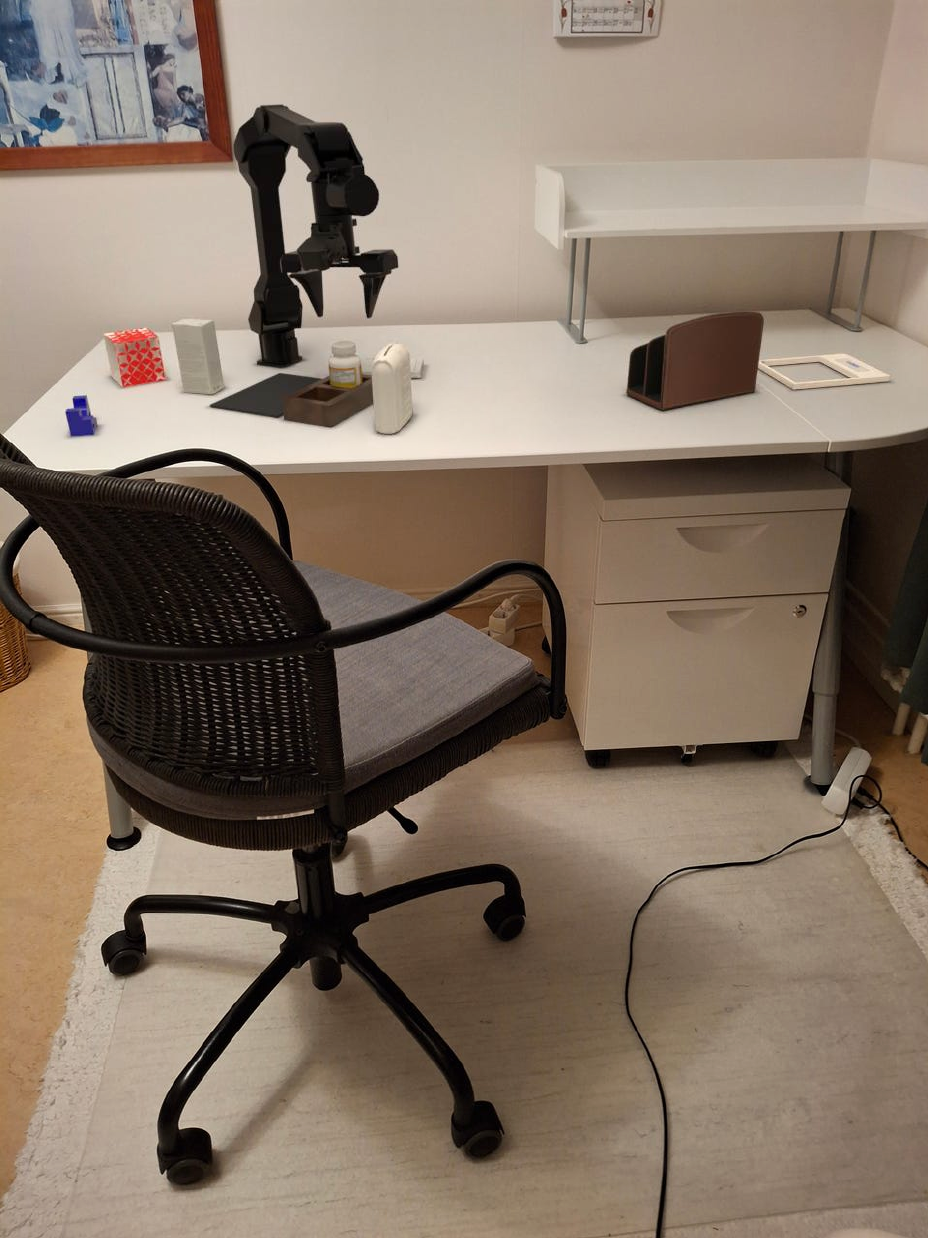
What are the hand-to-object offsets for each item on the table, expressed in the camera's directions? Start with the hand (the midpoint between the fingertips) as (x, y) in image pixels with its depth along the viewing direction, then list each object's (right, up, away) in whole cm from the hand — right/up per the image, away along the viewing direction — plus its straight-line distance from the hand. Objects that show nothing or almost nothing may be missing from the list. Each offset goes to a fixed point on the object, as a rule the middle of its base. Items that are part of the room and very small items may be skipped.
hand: (344, 317), depth 157 cm
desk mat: (-13, -10, +10) cm, 19 cm away
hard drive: (+6, -4, +21) cm, 22 cm away
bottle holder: (-2, -14, +4) cm, 15 cm away
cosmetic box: (-27, -9, +14) cm, 31 cm away
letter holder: (+58, -11, +7) cm, 59 cm away
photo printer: (+8, -18, -3) cm, 20 cm away
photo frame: (+83, -6, +15) cm, 84 cm away
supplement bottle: (0, -12, +7) cm, 14 cm away
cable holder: (-41, -19, -2) cm, 45 cm away
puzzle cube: (-41, -5, +21) cm, 46 cm away
